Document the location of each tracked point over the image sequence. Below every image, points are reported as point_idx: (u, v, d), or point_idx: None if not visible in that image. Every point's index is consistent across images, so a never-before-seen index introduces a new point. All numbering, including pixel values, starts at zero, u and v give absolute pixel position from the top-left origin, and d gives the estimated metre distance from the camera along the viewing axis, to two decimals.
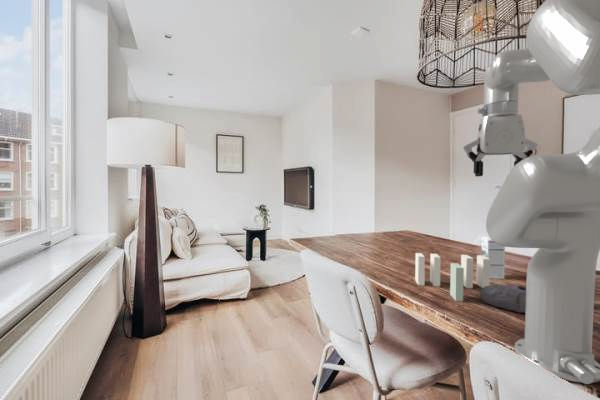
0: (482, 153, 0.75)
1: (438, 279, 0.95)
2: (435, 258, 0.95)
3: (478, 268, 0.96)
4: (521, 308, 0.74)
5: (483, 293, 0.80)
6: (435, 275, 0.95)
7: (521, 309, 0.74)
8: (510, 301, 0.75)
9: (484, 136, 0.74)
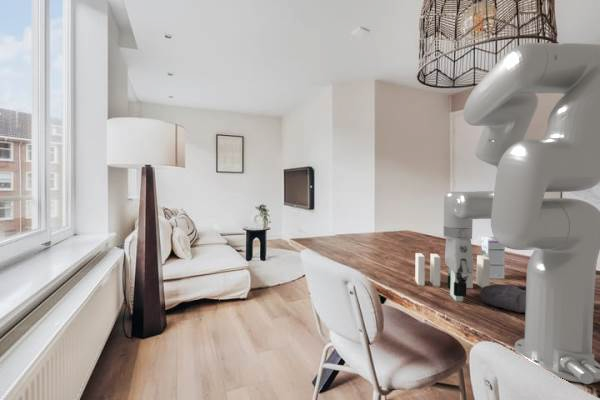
0: None
1: (438, 279, 0.95)
2: (435, 258, 0.95)
3: (478, 268, 0.96)
4: (521, 308, 0.74)
5: (483, 293, 0.80)
6: (435, 275, 0.95)
7: (521, 309, 0.74)
8: (510, 301, 0.75)
9: (472, 259, 0.80)
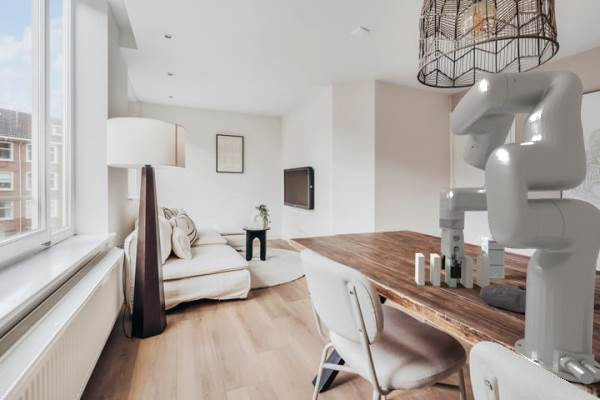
0: None
1: (438, 279, 0.95)
2: (435, 258, 0.95)
3: (478, 268, 0.96)
4: (521, 308, 0.74)
5: (483, 293, 0.80)
6: (435, 275, 0.95)
7: (521, 309, 0.74)
8: (510, 301, 0.75)
9: None
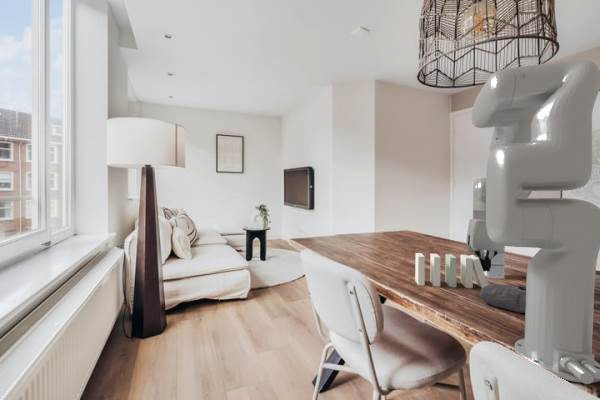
0: None
1: (438, 279, 0.95)
2: (435, 258, 0.95)
3: None
4: (521, 308, 0.74)
5: (483, 293, 0.80)
6: (435, 275, 0.95)
7: (521, 309, 0.74)
8: (510, 301, 0.75)
9: None
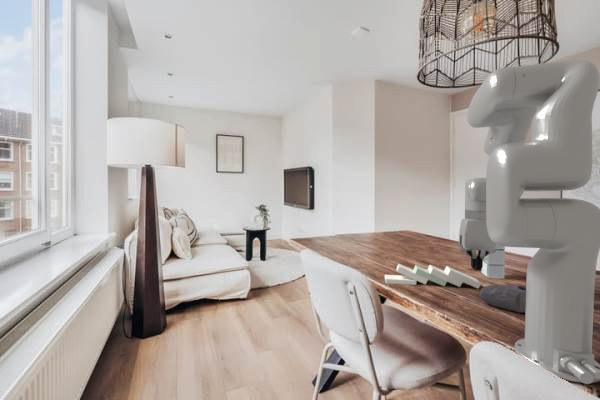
0: None
1: (420, 277, 0.97)
2: (398, 271, 0.99)
3: None
4: (521, 308, 0.74)
5: (483, 293, 0.80)
6: (415, 278, 0.97)
7: (521, 309, 0.74)
8: (510, 301, 0.75)
9: None
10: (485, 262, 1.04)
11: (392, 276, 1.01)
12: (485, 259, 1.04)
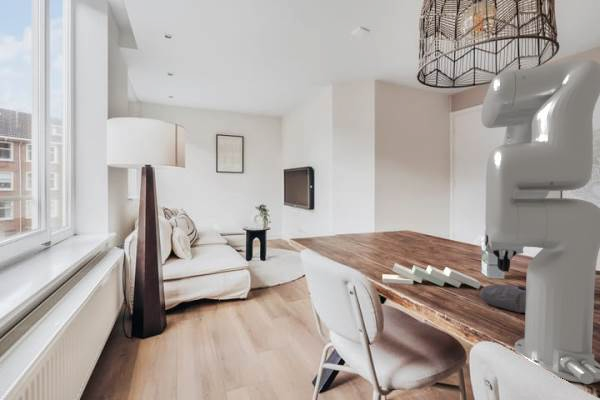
0: None
1: (415, 276, 0.98)
2: (393, 270, 1.00)
3: None
4: (521, 308, 0.74)
5: (483, 293, 0.80)
6: (410, 277, 0.98)
7: (521, 309, 0.74)
8: (510, 301, 0.75)
9: None
10: (485, 262, 1.04)
11: (389, 276, 1.02)
12: (485, 259, 1.04)
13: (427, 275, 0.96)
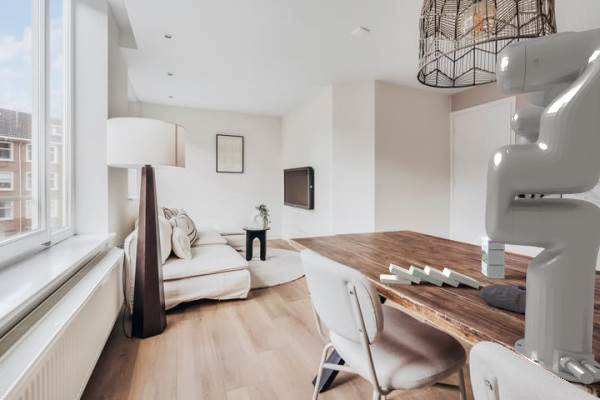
0: None
1: (413, 277, 0.97)
2: (392, 272, 0.98)
3: None
4: (521, 308, 0.74)
5: (483, 293, 0.80)
6: (408, 278, 0.97)
7: (521, 309, 0.74)
8: (510, 301, 0.75)
9: None
10: (485, 262, 1.04)
11: (387, 276, 1.02)
12: (485, 259, 1.04)
13: (425, 275, 0.96)
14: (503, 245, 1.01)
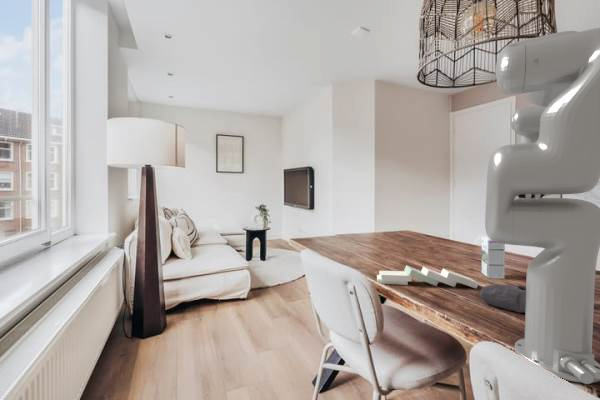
0: None
1: (404, 277, 0.96)
2: (382, 279, 0.97)
3: None
4: (521, 308, 0.74)
5: (483, 293, 0.80)
6: (400, 279, 0.96)
7: (521, 309, 0.74)
8: (510, 301, 0.75)
9: None
10: (485, 262, 1.04)
11: None
12: (485, 259, 1.04)
13: (422, 275, 0.95)
14: (503, 245, 1.01)
